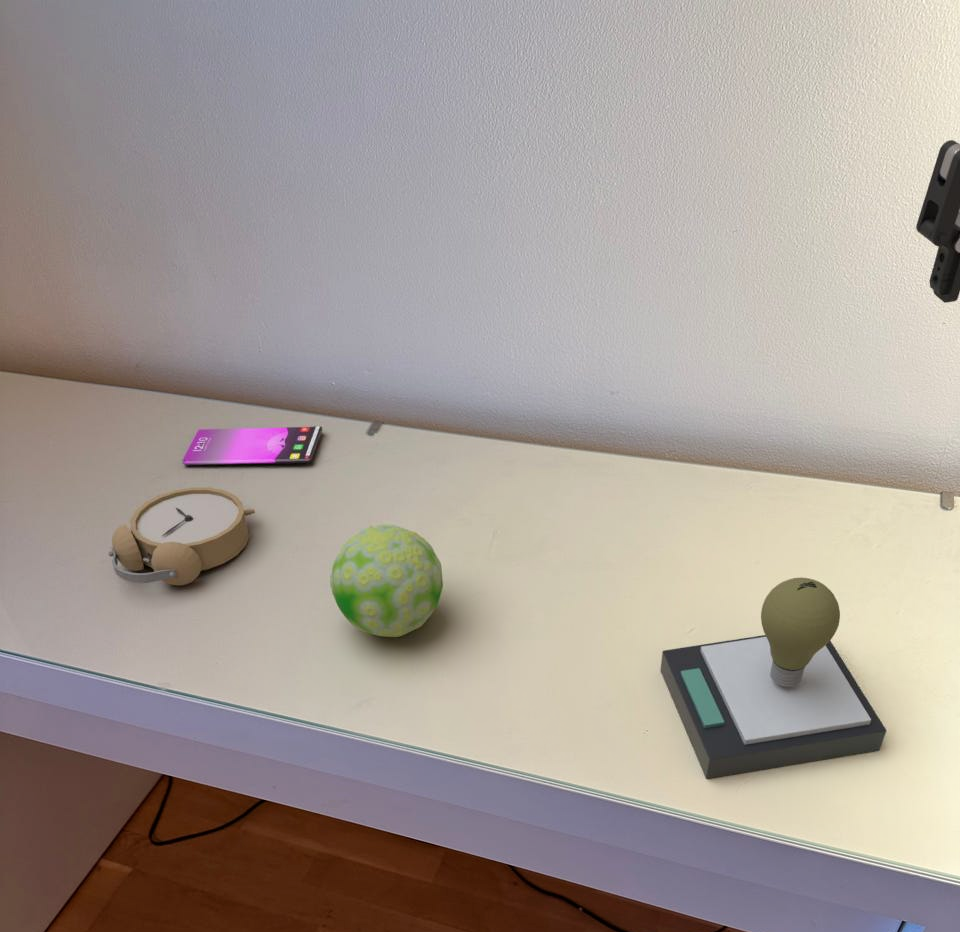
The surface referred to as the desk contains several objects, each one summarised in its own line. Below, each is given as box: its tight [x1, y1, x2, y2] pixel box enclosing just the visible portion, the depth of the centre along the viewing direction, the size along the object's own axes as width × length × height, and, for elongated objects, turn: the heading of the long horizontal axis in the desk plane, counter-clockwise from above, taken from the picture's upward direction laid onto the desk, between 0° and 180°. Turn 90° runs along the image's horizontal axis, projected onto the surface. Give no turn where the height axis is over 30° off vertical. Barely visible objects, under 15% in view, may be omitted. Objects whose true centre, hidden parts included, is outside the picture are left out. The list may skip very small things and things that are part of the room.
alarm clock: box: [107, 487, 256, 586], centre depth 96 cm, size 11×5×15 cm
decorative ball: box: [329, 524, 444, 638], centre depth 85 cm, size 10×10×10 cm
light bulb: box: [760, 577, 841, 687], centre depth 73 cm, size 6×6×10 cm
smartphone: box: [181, 426, 323, 466], centre depth 111 cm, size 7×15×1 cm, turn 86°
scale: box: [660, 634, 887, 780], centre depth 77 cm, size 14×12×3 cm
